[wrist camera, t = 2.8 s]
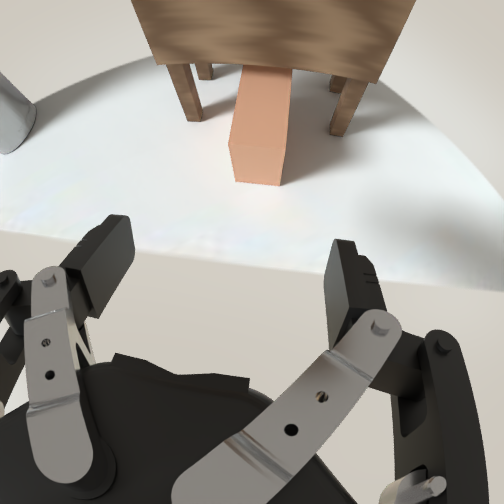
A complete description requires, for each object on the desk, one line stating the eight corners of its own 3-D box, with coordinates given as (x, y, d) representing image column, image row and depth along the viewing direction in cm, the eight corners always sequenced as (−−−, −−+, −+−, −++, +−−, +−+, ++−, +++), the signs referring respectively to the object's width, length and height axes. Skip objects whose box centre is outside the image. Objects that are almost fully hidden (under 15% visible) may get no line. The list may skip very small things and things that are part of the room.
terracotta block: (235, 181, 31) (228, 144, 23) (246, 110, 32) (243, 64, 25) (279, 186, 31) (285, 149, 23) (286, 114, 32) (292, 68, 24)
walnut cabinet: (181, 137, 32) (80, -97, 4) (201, 66, 34) (156, -129, 6) (344, 154, 31) (461, -82, 4) (343, 79, 33) (404, -115, 5)
